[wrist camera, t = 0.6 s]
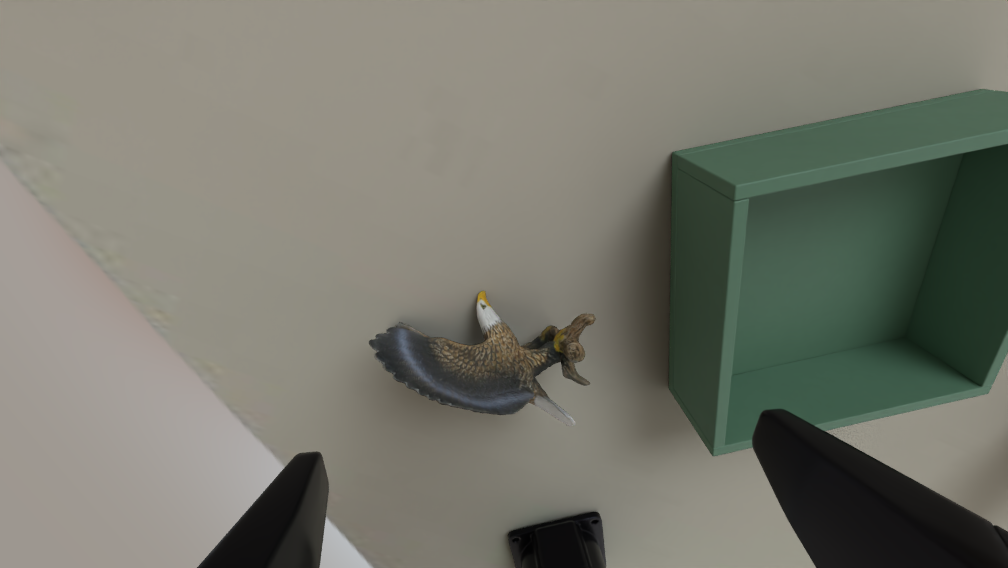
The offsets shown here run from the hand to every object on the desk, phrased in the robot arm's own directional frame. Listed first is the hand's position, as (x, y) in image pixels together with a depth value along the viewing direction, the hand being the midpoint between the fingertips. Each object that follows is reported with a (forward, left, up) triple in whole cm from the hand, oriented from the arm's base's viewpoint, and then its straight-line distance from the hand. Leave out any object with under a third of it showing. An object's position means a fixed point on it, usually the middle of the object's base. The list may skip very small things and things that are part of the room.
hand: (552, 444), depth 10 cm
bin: (-6, -16, -14) cm, 22 cm away
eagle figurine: (-6, +2, -14) cm, 15 cm away
